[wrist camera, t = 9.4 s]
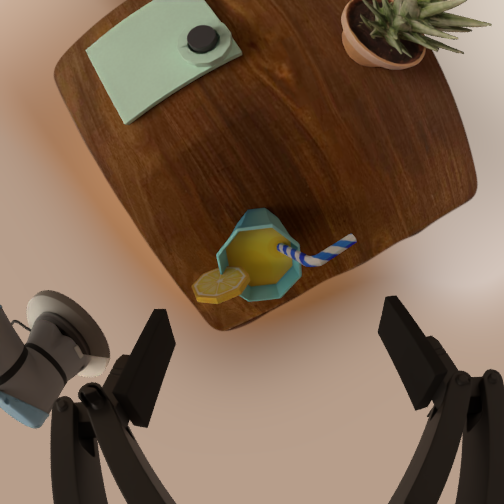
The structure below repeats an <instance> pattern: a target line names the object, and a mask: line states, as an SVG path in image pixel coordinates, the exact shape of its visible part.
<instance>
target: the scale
mask: <svg viewBox="0 0 504 504" xmlns="http://www.w3.org/2000/svg"><path fill="white" fill-rule="evenodd" d="M199 25H207V26H210V27H212V28H213V29H214V31H215V33H216V35H217V39H218V41H217V44H216V46H215V47H214V48H213V49H212V50H210V51H208V52H202V53H201V52H196V51H195V50H193V49H192V47H191V46H190V45H189V43H188V41H187V35H188V33H189V32H190V30H191V29H193V28H194V27H196V26H199ZM86 52H87V54H88V56H89V58H90V60H91V62H92V64H93V66H94V68H95V70H96V72H97V74H98V76H99V78H100V79H101V81H102V83H103V85H104V87H105V89H106V91H107V93H108V95H109V96H110V98H111V100H112V102H113V104H114V106H115V107H116V109H117V111H118V113H119V115H120V116H121V118H122V120H123V122H124V124H125V125H129V124H131V123H132V122H133V121H135V120H136V119H137V118H139V117H140V116H141V115H143V114H144V113H145V112H147V111H148V110H150V109H151V108H152V107H154V106H155V105H157V104H158V103H160V102H161V101H163V100H164V99H166V98H167V97H169V96H170V95H172V94H173V93H175V92H176V91H178V90H179V89H181V88H183V87H184V86H186V85H188V84H189V83H191V82H193V81H194V80H196V79H198V78H199V77H201V76H203V75H205V74H206V73H208V72H210V71H212V70H214V69H216V68H217V67H219V66H221V65H223V64H225V63H227V62H229V61H231V60H233V59H235V58H237V57H239V56H241V55H242V51H241V50H240V48H239V47H238V45H237V44H236V42H235V41H234V39H233V38H232V35H231V32H230V31H229V29H228V28H227V27H226V25H225V24H224V23H221V21H220V20H219V19H218V17H217V16H216V15H215V13H214V12H213V11H212V9H211V8H210V7H209V6H208V4H207V3H206V2H205V0H153V1H152V2H150V3H148V4H147V5H145V6H144V7H142V8H140V9H139V10H137V11H136V12H134V13H133V14H131V15H130V16H129V17H127V18H126V19H124V20H123V21H121V22H120V23H119V24H117V25H116V26H115V27H113V28H112V29H111V30H109V31H108V32H107V33H106V34H104V35H103V36H102V37H101V38H99V39H98V40H97V41H96V42H95V43H93V44H92V45H91V46H90V47H89V48H88V49H86Z"/></svg>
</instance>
